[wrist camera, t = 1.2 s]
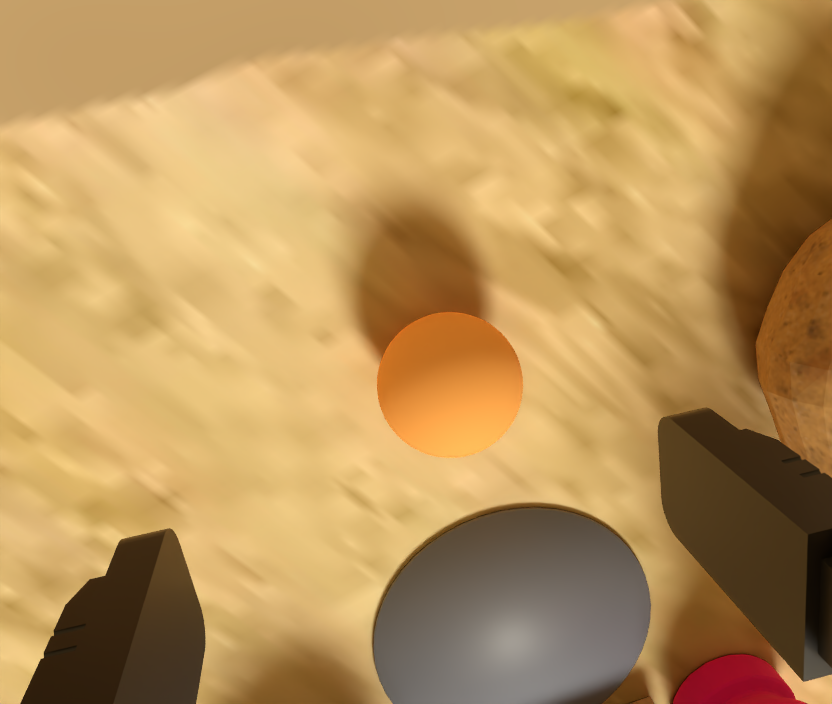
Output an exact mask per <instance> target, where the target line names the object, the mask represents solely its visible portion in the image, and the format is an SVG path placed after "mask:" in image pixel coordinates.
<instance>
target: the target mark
mask: <svg viewBox="0 0 832 704" xmlns="http://www.w3.org/2000/svg"><path fill="white" fill-rule="evenodd" d="M650 609H651V603H650V594H649V588H648V584H647V581H646V577H645V574H644V572H643V570H642V568H641V566H640V564H639V562H638V560H637V559H636V557H635V556H634V555H633V553H632V552H631V550H630V549H629V547H628V546H627V545H626V544H625V543H624V542H623V541H622V540H621V539H620V538H619V537H618V536H617V535H615V534H614V533H613V532H611V531H610V530H609V529H607V528H606V527H605V526H603V525H601V524H599V523H597V522H595V521H594V520H592V519H590V518H587V517H584V516H582V515H579V514H576V513H573V512H568V511H564V510H559V509H551V508H540V507H534V508H516V509H509V510H503V511H498V512H494V513H490V514H487V515H483V516H480V517H477V518H475V519H472V520H470V521H467V522H465V523H462V524H460V525H458V526H457V527H455V528H453V529H451V530H449V531H447V532H445V533H444V534H442V535H441V536H439V537H438V538H436V539H435V540H433V541H432V542H430V543H429V544H428V545H427V546H426V547H424V548H423V549H422V550H421V551H420V552H419V553H417V554H416V555H415V556H414V557H413V558H412V559H411V560H410V561H409V563H408V564H407V565H406V566H405V567H404V568H403V569H402V570H401V572H400V573H399V575H398V576H397V577H396V579H395V580H394V582H393V583H392V585H391V586H390V588H389V590H388V592H387V594H386V596H385V598H384V600H383V602H382V605H381V608H380V610H379V613H378V616H377V620H376V625H375V630H374V646H373V649H374V657H375V666H376V669H377V673H378V676H379V680H380V682H381V684H382V686H383V688H384V691H385V693H386V694H387V696H388V697H389V699H390V700H391V702H392V703H393V704H602V703H603V702H604V701H605V700H606V699H607V698H608V697H609V696H610V695H611V694H612V693H613V692H614V691H615V690H616V689H617V688H618V687H619V686H620V684H621V683H622V682H623V681H624V680H625V678H626V677H627V676H628V674H629V672H630V671H631V669H632V668H633V666H634V665H635V663H636V661H637V659H638V657H639V655H640V653H641V651H642V649H643V646H644V643H645V640H646V637H647V633H648V628H649V622H650Z"/></svg>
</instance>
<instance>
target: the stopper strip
mask: <svg viewBox="0 0 832 704" xmlns="http://www.w3.org/2000/svg"><path fill="white" fill-rule="evenodd" d="M629 704H654V702H653V701H652V699H651V697H650V696H649V697H647V698H644V699H641V700H638V701H635V702H632V703H629Z"/></svg>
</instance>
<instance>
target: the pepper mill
mask: <svg viewBox="0 0 832 704" xmlns="http://www.w3.org/2000/svg"><path fill="white" fill-rule="evenodd" d="M673 704H807V703H804V702H802V701H799V700H796V699H795V696H794V693H793V692H792V690H791V689H790V687H789V686H788V685H787V684H786V683H785V681H784V680H783V679H782V678H781V677H780V675H779V674H778V673H777V672H776V671H775V669H774V668H773V667H772V666H771V665H770V664H768V663H767V662H766V661H764V660H762V659H760V658H758V657H755V656H751V655H747V654H738V655H727V656H723V657H719V658H716V659H714V660H712V661H709V662H707V663H705V664H704V665H702V666H701V667H700V668H698V669H697V670H696V671H694V672H693V673H691V674H690V675H689V676H688V677H687V679H686V680H685V681H684V682H683V683H682V685H681V686H680V687H679V689H678V691H677V693H676V695H675V697H674V700H673Z"/></svg>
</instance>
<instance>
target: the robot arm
mask: <svg viewBox="0 0 832 704" xmlns="http://www.w3.org/2000/svg"><path fill="white" fill-rule="evenodd" d="M658 443H659V461H660V480H661V498H662V505H663V510H664V513H665V516H666V519H667V522H668V524H669V526H670V528H671V530H672V531H673V533H674V535H675V536H676V537H677V538H678V539H679V541H680V542H681V543H682V544H683V545H684V546H685V547H686V549H687V550H688V551H689V552H690V553H691V554H692V555H693V557H694V558H695V559H696V560H697V561H698V562H699V563H700V565H701V566H702V567H703V568H704V569H705V570H706V571H707V573H708V574H709V575H710V576H711V577H712V578H713V579H714V580H715V582H716V583H717V584H718V585H719V586H720V587H721V588H722V590H723V591H724V592H725V593H726V594H727V595H728V596H729V598H730V599H731V600H732V601H733V602H734V603H735V604H736V606H737V607H738V608H739V609H740V610H741V611H742V612H743V614H744V615H745V616H746V617H747V618H748V619H749V620H750V621H751V623H752V624H753V625H754V626H755V627H756V628H757V629H758V631H759V632H760V633H761V634H762V635H763V636H764V637H765V639H766V640H767V641H768V642H769V643H770V644H771V645H772V647H773V648H774V649H775V650H776V651H777V652H778V653H779V655H780V656H781V657H782V658H783V659H784V660H785V661H786V663H787V664H788V665H789V666H790V667H791V668H792V669H793V670H794V672H795V673H796V674H797V675H798V676H799V677H800V678H801V680H802V681H803V682H805V681H808V680H812V679H816V678H820V677H823V676H827V675H831V674H832V478H831V477H830V476H829V475H827V474H826V473H821V472H820V469H819V468H817V467H816V466H814V465H813V464H811V463H810V462H809V461H807V460H806V459H804V460H802V459H801V456H800V455H799V454H797V453H796V452H794V451H793V450H791V449H790V448H788V447H787V446H786V445H784V444H783V443H781V442H780V441H778V440H776V439H774V438H771V437H768V436H765V435H762V434H759V433H756V432H754V431H751V430H748V429H744V430H738V429H737V428H736V427H734V426H733V425H732V424H730V423H729V422H728V421H726V420H725V419H723V418H722V417H721V416H719V415H718V414H717V413H715V412H714V411H713V410H711V409H709V408H702V409H697V410H693V411H689V412H684V413H680V414H675V415H671V416H667V417H663V418H662V419H661V420H660V422H659V426H658ZM204 652H205V626H204V620H203V614H202V610H201V607H200V604H199V601H198V598H197V595H196V592H195V589H194V585H193V582H192V579H191V576H190V573H189V570H188V567H187V564H186V561H185V558H184V555H183V552H182V549H181V546H180V543H179V541H178V538H177V536H176V534H175V532H174V531H173V530H172V529H164V530H160V531H156V532H151V533H147V534H142V535H138V536H134V537H129V538H125V539H122V540H120V542H119V543H118V545H117V548H116V550H115V553H114V555H113V558H112V560H111V563H110V565H109V568H108V570H107V573H106V575H105V576H103V577H98V578H94V579H90V580H89V581H88V582H87V583H86V584H85V585H84V586H83V587H82V588H81V589H80V590H79V591H78V592H77V594H76V595H75V596H74V597H73V598H72V599H71V600H70V601H69V602H68V603H67V604H66V605H65V607H64V610H63V612H62V614H61V616H60V618H59V620H58V623H57V625H56V627H55V629H54V636H51V638H50V640H49V642H48V644H47V647H46V649H45V651H44V658H43V659H41V660H40V662H39V664H38V666H37V668H36V671H35V673H34V675H33V677H32V679H31V682H30V684H29V686H28V688H27V690H26V692H25V695H24V697H23V699H22V701H21V703H20V704H196V700H197V694H198V688H199V682H200V676H201V670H202V664H203V658H204Z"/></svg>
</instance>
